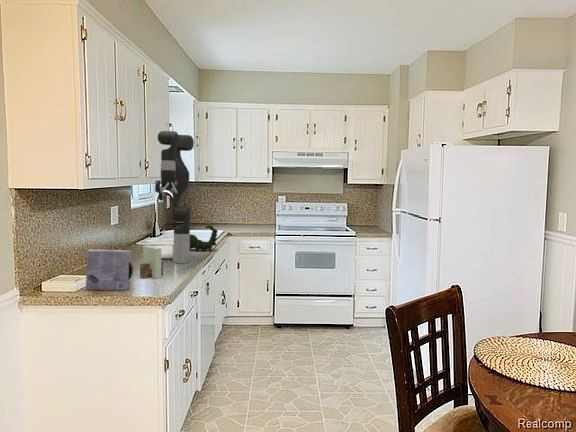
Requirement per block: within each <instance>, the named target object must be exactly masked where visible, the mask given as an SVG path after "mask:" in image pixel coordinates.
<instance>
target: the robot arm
mask: <svg viewBox="0 0 576 432" xmlns="http://www.w3.org/2000/svg"><path fill="white" fill-rule="evenodd" d="M157 141H158V143H160V145H165V146H169V147H168V148H165V149H162V150H161V152H160V153H161V156H160V157H161V158H160V180H159V179H157V180H155V183H154V184H155V185H154V186H155V187H154V192H155V193H158V200H159V201H163V200H164V193H163V192H164V191H166V189H167V190H169V189H170V191H172V203H171V214H170V216H171V221H172V222H176V223H177V222H178V223H181V222H182V223H183V224H182V225H181V226H178V227H175V228H174V229H173V245H172V246H173V258H172V262H173V263H176V264H187V262H188V263H190V254H191V250H190V235H191V233H190V232H191V231H190V230H191V217H192V216H191V213H192V212H191V210H192V209H191V208H190V206H187V205H185V206H183V205H179V204H180V200H181V197H182V196H183V194H184V193H185V192H186V190H187V188H188V187H189V185H190V171H189V169H188V167H187V166H186V164H185V163H184V161H183V158H182V156H181V155H182V154H181V152H182V151H185V152H191V151H192V150H193V149H194V146H195V145H194V144H195V143H194V141H195V140H194V138H193V136H192V135H188V134H179V133H178V132H177V131H174V130H173V131H172V130H161V131H160V132H158V134H157Z"/></svg>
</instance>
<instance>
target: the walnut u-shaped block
mask: <svg viewBox="0 0 576 432" xmlns="http://www.w3.org/2000/svg"><path fill="white" fill-rule="evenodd" d="M161 276H164V261H162V260H161ZM148 278H149V279H150V278H152V270H151V269H149V264H148V263H144V264H143V263H140V265H139V279H148Z"/></svg>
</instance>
